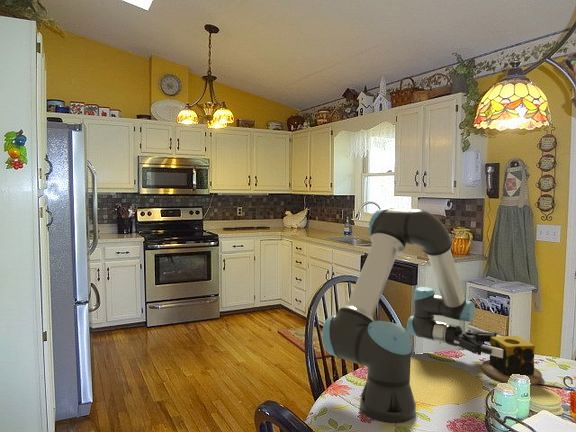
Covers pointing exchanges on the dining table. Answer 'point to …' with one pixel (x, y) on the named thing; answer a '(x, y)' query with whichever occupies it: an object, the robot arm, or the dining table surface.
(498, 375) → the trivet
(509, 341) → the yellow spotted cube
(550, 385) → the dining table surface
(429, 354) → the dining table surface
